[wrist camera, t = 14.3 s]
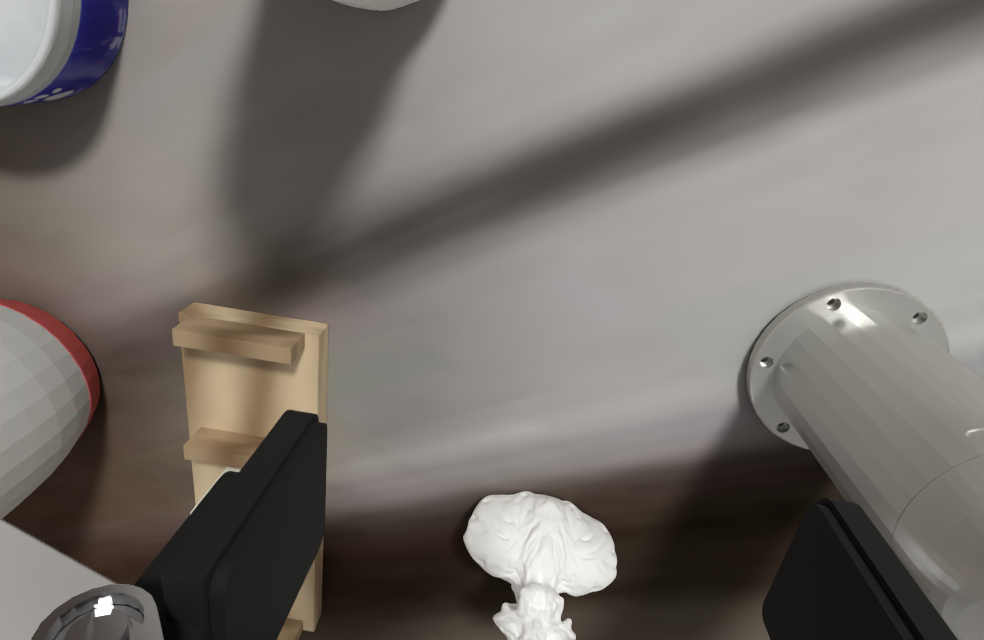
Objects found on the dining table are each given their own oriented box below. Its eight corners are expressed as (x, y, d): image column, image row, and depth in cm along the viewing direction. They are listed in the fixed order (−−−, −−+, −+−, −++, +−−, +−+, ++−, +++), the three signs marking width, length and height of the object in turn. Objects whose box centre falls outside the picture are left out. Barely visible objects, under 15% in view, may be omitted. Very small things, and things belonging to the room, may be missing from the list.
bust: (471, 487, 49) (438, 634, 44) (481, 467, 43) (444, 636, 37) (605, 520, 50) (589, 670, 44) (637, 505, 43) (622, 679, 38)
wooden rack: (328, 323, 42) (305, 350, 38) (321, 612, 54) (303, 656, 50) (194, 302, 42) (157, 326, 38) (217, 594, 54) (190, 636, 50)
